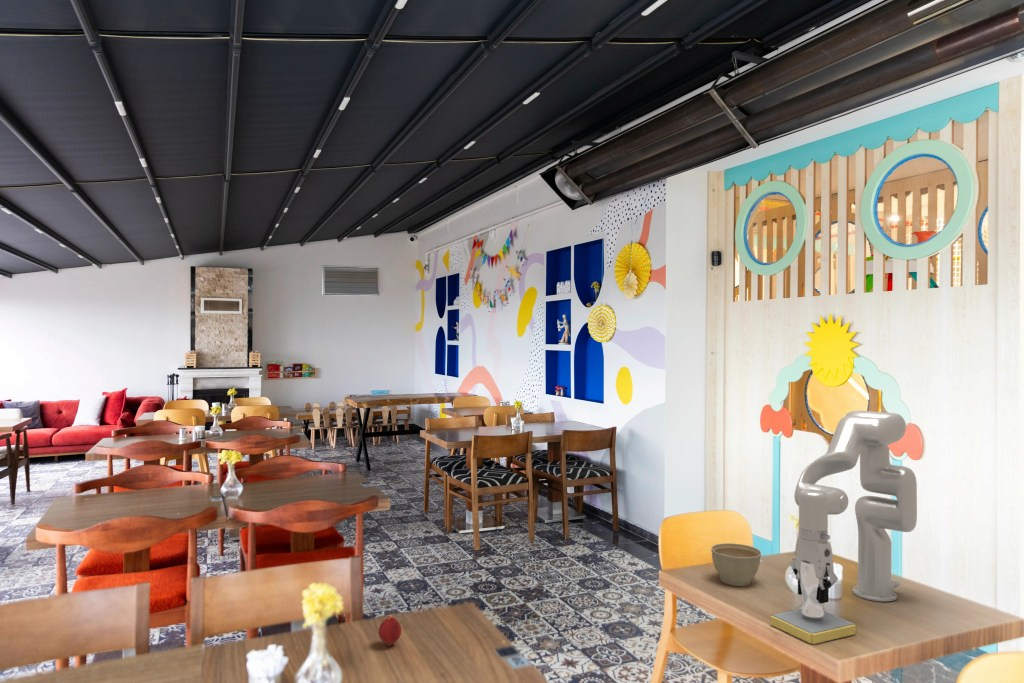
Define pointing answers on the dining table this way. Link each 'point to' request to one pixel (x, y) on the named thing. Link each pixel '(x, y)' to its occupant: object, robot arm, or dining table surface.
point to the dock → (813, 626)
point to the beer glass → (810, 591)
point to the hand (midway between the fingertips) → (812, 597)
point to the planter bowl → (736, 563)
